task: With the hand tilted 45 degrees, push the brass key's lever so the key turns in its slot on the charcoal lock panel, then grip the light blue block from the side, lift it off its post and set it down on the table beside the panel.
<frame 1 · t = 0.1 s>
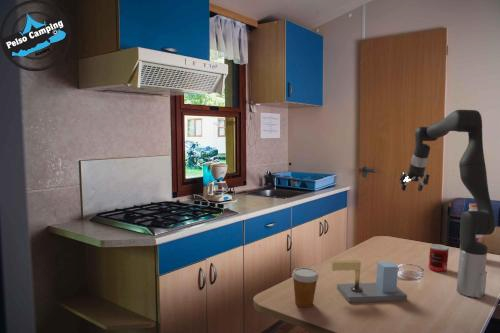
hand: (411, 190, 209), 31 cm above the table, tool tilted 20°, fingers open, 8 cm apart
canned food: (437, 270, 181), on the table
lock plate: (370, 294, 152), on the table
brass key: (345, 274, 150), point 8 cm above the table, hinge at 0.0°
fruit juice: (469, 259, 197), on the table
disposable coffee cup: (304, 304, 143), on the table
light blue block: (385, 289, 153), point 2 cm above the table, touching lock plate
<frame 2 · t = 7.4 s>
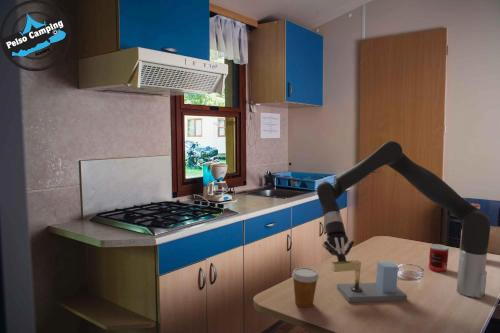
hand: (342, 264, 151), 12 cm above the table, tool tilted 45°, fingers closed
brass key: (346, 275, 150), point 8 cm above the table, hinge at 7.2°, touching gripper
everything else where it was.
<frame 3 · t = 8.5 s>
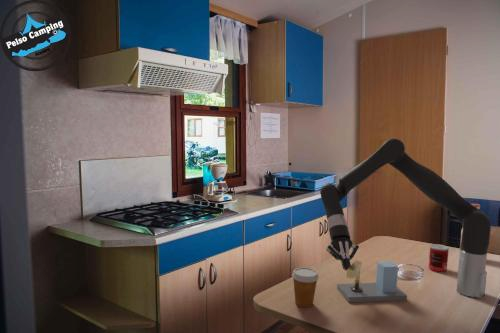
hand: (347, 269, 146), 12 cm above the table, tool tilted 45°, fingers closed
brass key: (353, 278, 147), point 8 cm above the table, hinge at 52.3°
everything else where it was.
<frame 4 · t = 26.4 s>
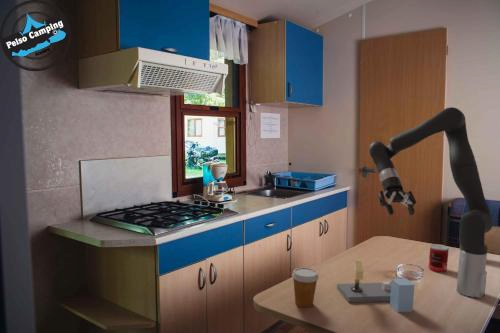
hand: (402, 214, 156), 31 cm above the table, tool tilted 45°, fingers open, 8 cm apart
brass key: (358, 279, 146), point 8 cm above the table, hinge at 70.2°
light blue block: (400, 308, 141), on the table
everything else where it was.
at the end: brass key at +70° (first picture: +0°); light blue block inside the target area (0.3 cm from its centre), on the table; light blue block tilted 0° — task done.
